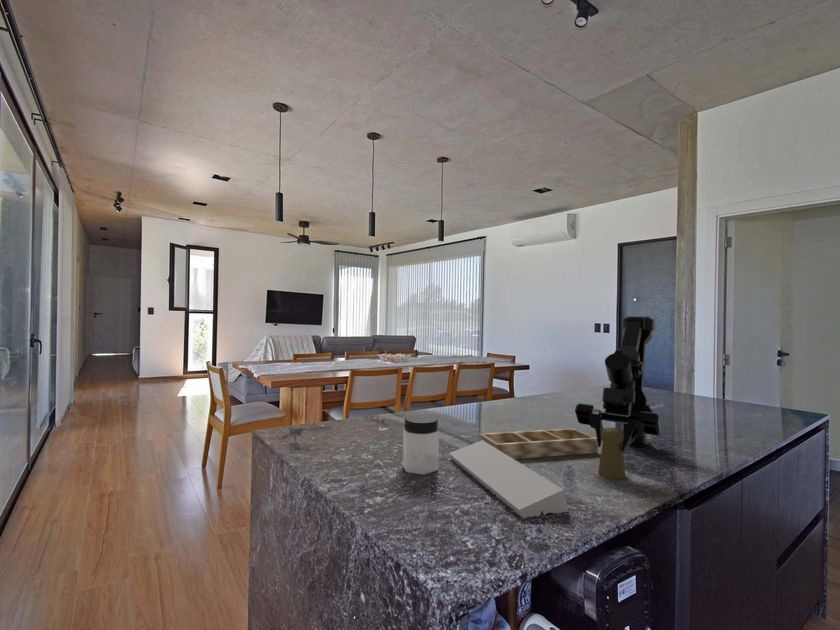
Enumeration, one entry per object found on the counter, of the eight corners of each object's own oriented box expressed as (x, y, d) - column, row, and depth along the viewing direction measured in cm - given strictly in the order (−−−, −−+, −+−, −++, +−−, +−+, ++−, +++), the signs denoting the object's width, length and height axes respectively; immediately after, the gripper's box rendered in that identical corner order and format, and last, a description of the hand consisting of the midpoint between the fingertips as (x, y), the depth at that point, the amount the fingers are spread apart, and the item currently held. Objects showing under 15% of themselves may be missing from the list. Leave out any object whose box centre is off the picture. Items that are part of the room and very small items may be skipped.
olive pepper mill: (593, 470, 104) (594, 425, 104) (616, 470, 104) (617, 425, 104) (606, 479, 98) (607, 431, 98) (631, 479, 98) (631, 431, 98)
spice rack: (573, 441, 128) (573, 428, 128) (597, 452, 118) (597, 438, 118) (478, 447, 120) (479, 433, 120) (496, 460, 109) (496, 444, 109)
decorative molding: (524, 534, 78) (569, 513, 81) (519, 509, 77) (563, 489, 80) (452, 470, 110) (486, 457, 113) (448, 453, 110) (482, 440, 113)
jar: (396, 471, 100) (398, 420, 100) (408, 460, 108) (409, 413, 108) (433, 476, 97) (434, 424, 97) (442, 465, 105) (443, 416, 105)
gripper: (577, 372, 110) (564, 422, 101) (659, 379, 99) (653, 436, 90) (584, 398, 116) (572, 447, 107) (662, 407, 105) (656, 463, 96)
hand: (610, 448), depth 100 cm, fingers closed on olive pepper mill, 5 cm apart
